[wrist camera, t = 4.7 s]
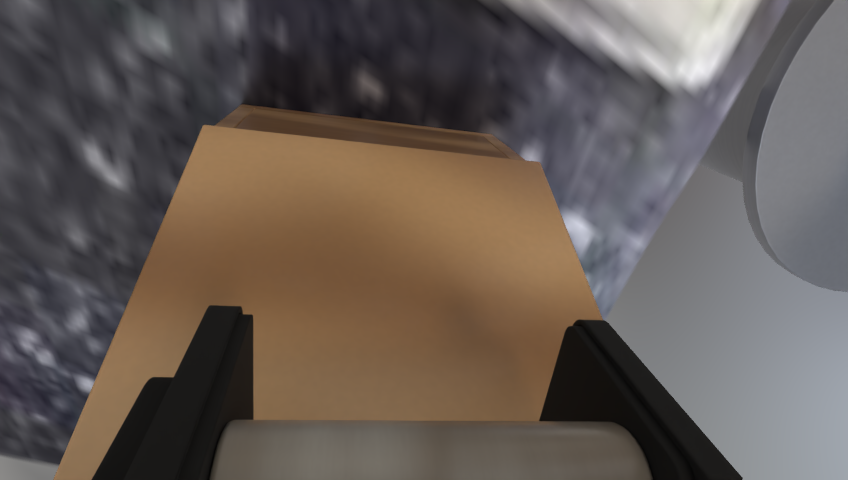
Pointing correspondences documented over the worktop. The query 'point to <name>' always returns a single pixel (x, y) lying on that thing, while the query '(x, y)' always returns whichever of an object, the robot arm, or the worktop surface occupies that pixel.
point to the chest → (366, 131)
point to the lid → (365, 315)
